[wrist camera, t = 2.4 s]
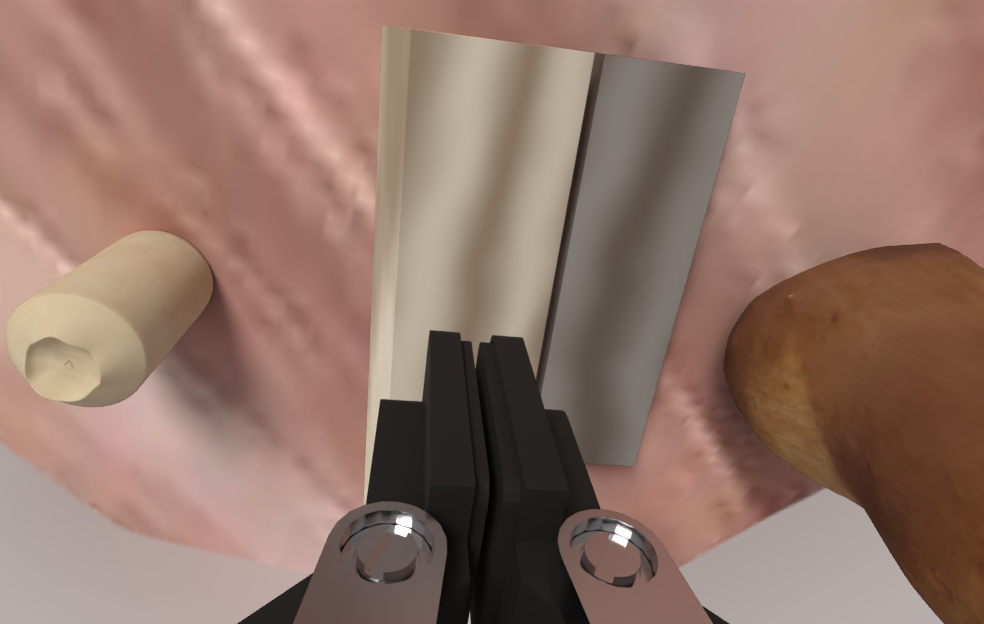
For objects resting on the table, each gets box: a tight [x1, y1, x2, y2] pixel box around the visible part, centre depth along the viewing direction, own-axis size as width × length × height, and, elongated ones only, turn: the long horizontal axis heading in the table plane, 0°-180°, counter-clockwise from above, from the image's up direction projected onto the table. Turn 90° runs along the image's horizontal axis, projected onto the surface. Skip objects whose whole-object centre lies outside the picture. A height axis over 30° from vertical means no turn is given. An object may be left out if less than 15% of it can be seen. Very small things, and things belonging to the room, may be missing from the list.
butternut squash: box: [724, 243, 984, 624], centre depth 26 cm, size 14×13×25 cm
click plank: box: [364, 25, 595, 505], centre depth 30 cm, size 10×24×2 cm
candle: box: [5, 230, 213, 407], centre depth 28 cm, size 6×6×10 cm
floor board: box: [536, 53, 746, 466], centre depth 34 cm, size 7×24×2 cm, turn 173°
